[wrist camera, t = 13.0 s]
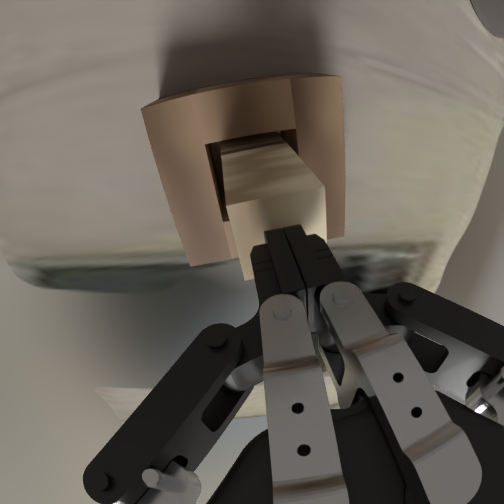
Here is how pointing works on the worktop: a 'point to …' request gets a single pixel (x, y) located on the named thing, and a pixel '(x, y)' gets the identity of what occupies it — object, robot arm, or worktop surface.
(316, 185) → the birch peg
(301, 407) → the robot arm
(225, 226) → the walnut block
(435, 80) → the worktop surface
